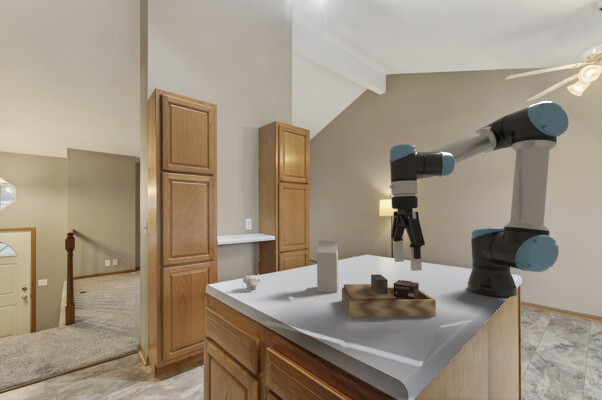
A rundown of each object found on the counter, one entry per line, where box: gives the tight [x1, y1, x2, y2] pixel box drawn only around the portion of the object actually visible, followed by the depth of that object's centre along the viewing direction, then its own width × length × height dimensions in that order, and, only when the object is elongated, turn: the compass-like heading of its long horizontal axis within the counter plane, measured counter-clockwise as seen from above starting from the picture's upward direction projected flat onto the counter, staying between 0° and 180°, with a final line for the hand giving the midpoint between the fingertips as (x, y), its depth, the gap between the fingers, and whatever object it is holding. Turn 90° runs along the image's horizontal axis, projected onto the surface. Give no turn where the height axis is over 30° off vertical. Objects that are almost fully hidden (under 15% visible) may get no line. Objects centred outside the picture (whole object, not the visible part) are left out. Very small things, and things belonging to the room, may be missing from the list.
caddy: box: [341, 286, 437, 318], centre depth 87 cm, size 24×14×5 cm, turn 91°
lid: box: [343, 274, 396, 301], centre depth 87 cm, size 12×15×5 cm
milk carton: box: [316, 239, 339, 293], centre depth 107 cm, size 7×7×19 cm
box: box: [393, 279, 420, 300], centre depth 87 cm, size 6×6×7 cm
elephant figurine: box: [242, 273, 261, 291], centre depth 111 cm, size 7×8×6 cm
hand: (407, 265), depth 87 cm, fingers open, 13 cm apart
